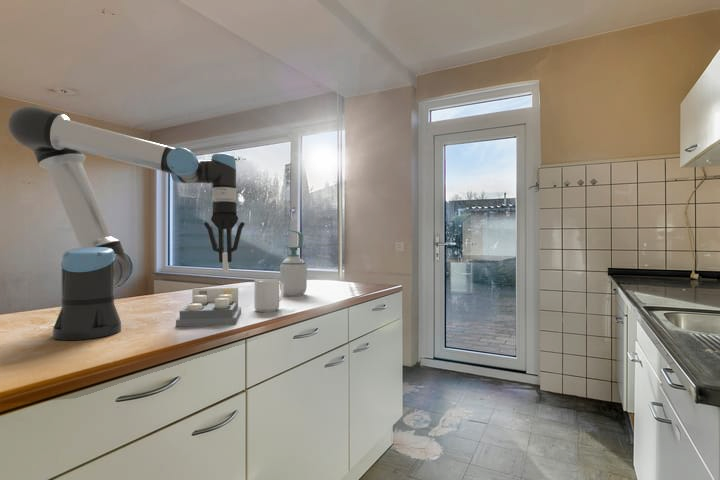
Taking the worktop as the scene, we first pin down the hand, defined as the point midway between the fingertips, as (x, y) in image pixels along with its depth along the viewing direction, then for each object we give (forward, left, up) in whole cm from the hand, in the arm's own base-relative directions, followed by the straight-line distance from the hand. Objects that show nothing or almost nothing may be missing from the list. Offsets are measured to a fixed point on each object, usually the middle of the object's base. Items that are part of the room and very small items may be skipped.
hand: (225, 272), depth 125 cm
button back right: (0, +1, -11) cm, 11 cm away
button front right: (0, -7, -11) cm, 13 cm away
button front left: (-8, -7, -12) cm, 16 cm away
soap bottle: (+24, +48, -15) cm, 56 cm away
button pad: (-4, -2, -15) cm, 16 cm away
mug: (+14, +12, -15) cm, 24 cm away
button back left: (-8, +1, -11) cm, 14 cm away
